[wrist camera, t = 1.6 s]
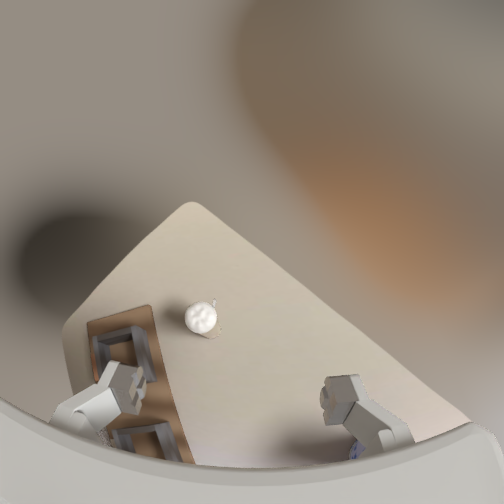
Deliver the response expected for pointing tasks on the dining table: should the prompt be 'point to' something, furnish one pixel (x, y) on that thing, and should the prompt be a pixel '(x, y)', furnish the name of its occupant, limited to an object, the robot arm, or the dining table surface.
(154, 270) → the dining table surface
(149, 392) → the port board
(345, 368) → the dining table surface
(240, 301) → the dining table surface
